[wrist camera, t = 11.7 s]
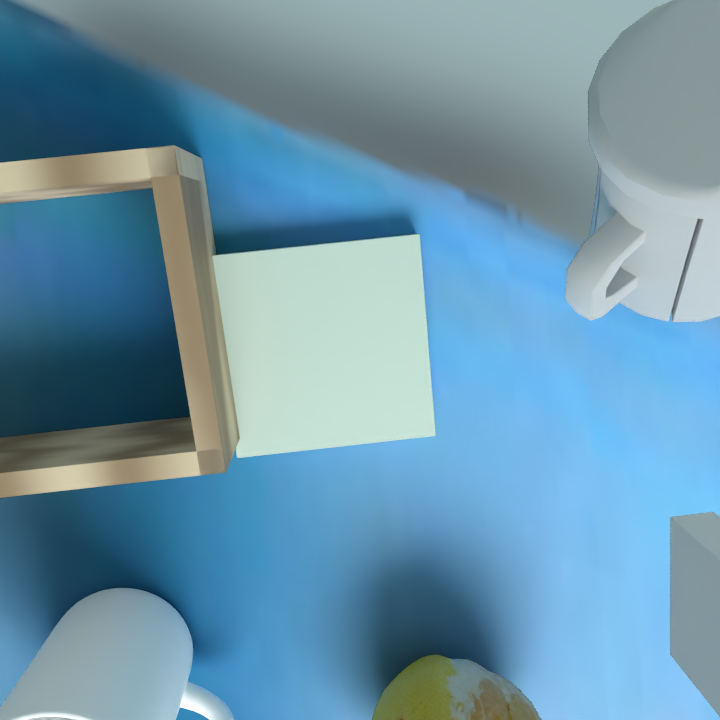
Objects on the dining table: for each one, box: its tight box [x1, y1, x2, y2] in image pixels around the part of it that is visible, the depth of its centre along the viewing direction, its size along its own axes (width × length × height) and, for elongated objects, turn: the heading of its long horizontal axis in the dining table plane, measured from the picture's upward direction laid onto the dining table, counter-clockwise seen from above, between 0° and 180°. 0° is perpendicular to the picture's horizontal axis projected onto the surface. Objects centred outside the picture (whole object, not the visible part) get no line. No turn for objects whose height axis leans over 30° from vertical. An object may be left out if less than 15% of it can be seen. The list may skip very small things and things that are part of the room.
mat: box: [212, 234, 436, 458], centre depth 35 cm, size 11×11×1 cm
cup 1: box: [0, 588, 235, 720], centre depth 34 cm, size 8×12×10 cm
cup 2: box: [565, 0, 720, 322], centre depth 27 cm, size 10×9×12 cm
